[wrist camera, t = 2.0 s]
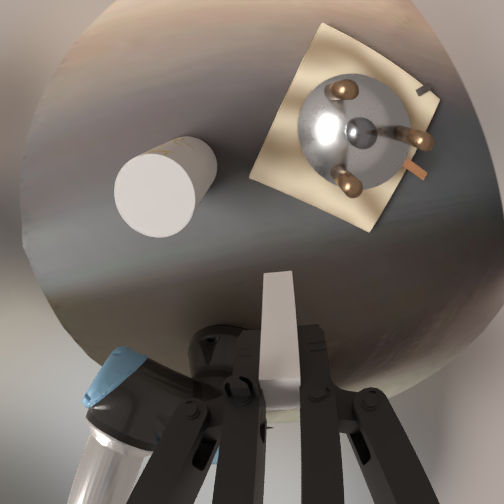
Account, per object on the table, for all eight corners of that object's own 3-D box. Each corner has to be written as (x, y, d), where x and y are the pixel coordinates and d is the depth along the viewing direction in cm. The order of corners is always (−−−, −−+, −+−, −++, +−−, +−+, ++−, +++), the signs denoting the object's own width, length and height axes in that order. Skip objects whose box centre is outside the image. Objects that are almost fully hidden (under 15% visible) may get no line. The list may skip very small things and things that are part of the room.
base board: (366, 227, 37) (369, 233, 35) (249, 174, 34) (248, 178, 32) (435, 95, 26) (442, 95, 24) (321, 22, 23) (324, 18, 21)
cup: (197, 124, 31) (164, 136, 21) (228, 178, 34) (212, 214, 24) (146, 156, 33) (100, 183, 23) (177, 205, 37) (145, 249, 26)
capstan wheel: (396, 216, 34) (421, 243, 27) (277, 155, 31) (281, 170, 24) (441, 131, 27) (477, 143, 20) (325, 54, 24) (344, 41, 17)
